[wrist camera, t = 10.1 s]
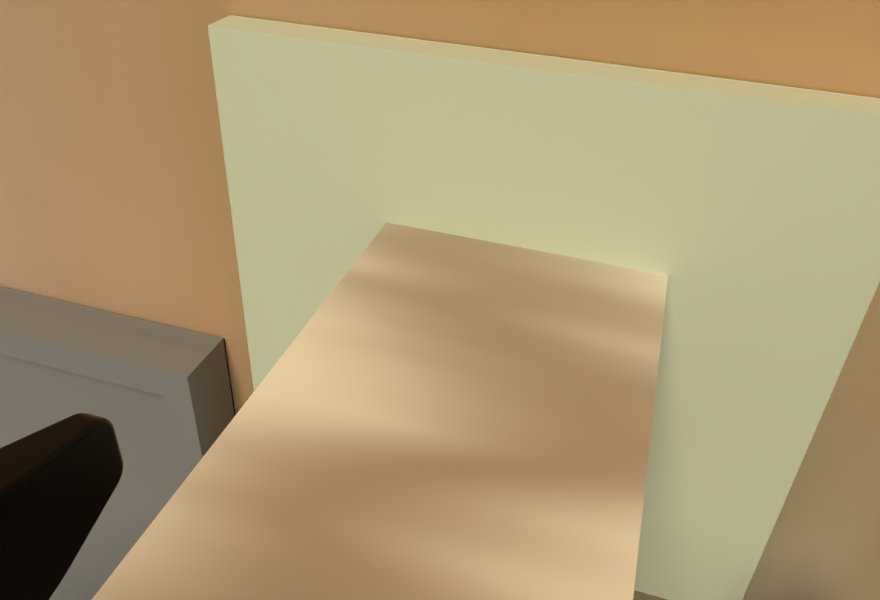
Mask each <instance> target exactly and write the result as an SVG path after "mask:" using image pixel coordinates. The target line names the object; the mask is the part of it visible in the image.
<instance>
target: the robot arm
mask: <svg viewBox="0 0 880 600" xmlns="http://www.w3.org/2000/svg"><path fill="white" fill-rule="evenodd" d="M122 472H123V459H122V455H121V452H120V448H119V444H118V441H117V437H116V433H115V429H114V426H113V424H112V423H111V422H110V421H109V420H108V419H106V418H103V417H99V416H95V415H92V414H88V413H78V414H74V415H72V416H69V417H67V418H65V419H63V420H61V421H58V422H56V423H54V424H52V425H50V426H47V427H45V428H43V429H41V430H39V431H36V432H34V433H32V434H30V435H28V436H25V437H23V438H21V439H19V440H17V441H14V442H12V443H10V444H8V445H6V446H3V447H1V448H0V600H49V599H50V597H51V596H52V594H53V593H54V592H55V590H56V589H57V587H58V586H59V584H60V583H61V581H62V579H63V578H64V576H65V574H66V573H67V571H68V570H69V568H70V566H71V565H72V563H73V561H74V559H75V558H76V556H77V554H78V552H79V551H80V549H81V547H82V545H83V544H84V542H85V540H86V539H87V537H88V535H89V533H90V532H91V530H92V528H93V526H94V525H95V523H96V521H97V519H98V518H99V516H100V514H101V512H102V511H103V509H104V507H105V506H106V504H107V502H108V500H109V499H110V497H111V495H112V493H113V492H114V490H115V488H116V486H117V485H118V483H119V481H120V478H121V476H122Z"/></svg>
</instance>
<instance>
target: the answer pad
mask: <svg viewBox="0 0 880 600" xmlns="http://www.w3.org/2000/svg"><path fill="white" fill-rule="evenodd" d="M208 32H209V40H210V48H211V55H212V63H213V71H214V79H215V87H216V95H217V103H218V111H219V119H220V127H221V135H222V143H223V151H224V159H225V166H226V174H227V182H228V190H229V198H230V206H231V214H232V222H233V230H234V238H235V246H236V254H237V262H238V270H239V277H240V285H241V293H242V301H243V309H244V317H245V325H246V333H247V341H248V349H249V357H250V365H251V373H252V381H253V388H254V391H255V390H256V388H257V387H258V386H259V385H260V383H261V382H262V381H263V380H264V378H265V377H266V376H267V374H268V373H269V372H270V371H271V369H272V368H273V367H274V365H275V364H276V363H277V362H278V360H279V359H280V358H281V356H282V355H283V354H284V353H285V351H286V350H287V349H288V348H289V346H290V345H291V344H292V342H293V341H294V340H295V339H296V337H297V336H298V335H299V333H300V332H301V331H302V330H303V328H304V327H305V326H306V324H307V323H308V322H309V321H310V319H311V318H312V317H313V316H314V314H315V313H316V312H317V310H318V309H319V308H320V307H321V305H322V304H323V303H324V301H325V300H326V299H327V298H328V296H329V295H330V294H331V292H332V291H333V290H334V289H335V287H336V286H337V285H338V283H339V282H340V281H341V280H342V278H343V277H344V276H345V275H346V273H347V272H348V271H349V269H350V268H351V267H352V266H353V264H354V263H355V262H356V260H357V259H358V258H359V257H360V255H361V254H362V253H363V251H364V250H365V249H366V248H367V246H368V245H369V244H370V243H371V241H372V240H373V239H374V237H375V236H376V235H377V234H378V232H379V231H380V230H381V228H382V227H383V226H384V225H385V223H386V222H388V223H393V224H398V225H404V226H409V227H414V228H420V229H425V230H430V231H436V232H441V233H446V234H452V235H457V236H463V237H468V238H473V239H479V240H484V241H489V242H495V243H500V244H505V245H511V246H516V247H521V248H527V249H532V250H538V251H543V252H548V253H554V254H559V255H564V256H570V257H575V258H580V259H586V260H591V261H597V262H602V263H607V264H613V265H618V266H623V267H629V268H634V269H639V270H645V271H650V272H655V273H661V274H666V275H668V283H667V292H666V301H665V310H664V320H663V329H662V338H661V347H660V356H659V365H658V375H657V384H656V393H655V402H654V411H653V420H652V430H651V439H650V448H649V457H648V466H647V475H646V485H645V494H644V503H643V512H642V521H641V530H640V540H639V549H638V558H637V567H636V576H635V586H634V590H635V591H639V592H642V593H646V594H649V595H653V596H657V597H660V598H664V599H667V600H742V599H743V597H744V595H745V592H746V590H747V588H748V585H749V583H750V581H751V578H752V576H753V574H754V572H755V569H756V567H757V565H758V562H759V560H760V558H761V555H762V553H763V551H764V548H765V546H766V544H767V541H768V539H769V537H770V534H771V532H772V530H773V528H774V525H775V523H776V521H777V518H778V516H779V514H780V511H781V509H782V507H783V504H784V502H785V500H786V497H787V495H788V493H789V490H790V488H791V486H792V484H793V481H794V479H795V477H796V474H797V472H798V470H799V467H800V465H801V463H802V460H803V458H804V456H805V453H806V451H807V449H808V446H809V444H810V442H811V439H812V437H813V435H814V433H815V430H816V428H817V426H818V423H819V421H820V419H821V416H822V414H823V412H824V409H825V407H826V405H827V402H828V400H829V398H830V395H831V393H832V391H833V389H834V386H835V384H836V382H837V379H838V377H839V375H840V372H841V370H842V368H843V365H844V363H845V361H846V358H847V356H848V354H849V351H850V349H851V347H852V345H853V342H854V340H855V338H856V335H857V333H858V331H859V328H860V326H861V324H862V321H863V319H864V317H865V314H866V312H867V310H868V307H869V305H870V303H871V300H872V298H873V296H874V294H875V291H876V289H877V287H878V284H879V282H880V98H873V97H866V96H858V95H850V94H842V93H834V92H826V91H819V90H811V89H803V88H795V87H787V86H780V85H772V84H764V83H756V82H748V81H740V80H733V79H725V78H717V77H709V76H701V75H694V74H686V73H678V72H670V71H662V70H654V69H647V68H639V67H631V66H623V65H615V64H608V63H600V62H592V61H584V60H576V59H569V58H561V57H553V56H545V55H537V54H529V53H522V52H514V51H506V50H498V49H490V48H483V47H475V46H467V45H459V44H451V43H443V42H436V41H428V40H420V39H412V38H404V37H397V36H389V35H381V34H373V33H365V32H358V31H350V30H342V29H334V28H326V27H318V26H311V25H303V24H295V23H287V22H279V21H272V20H264V19H256V18H248V17H240V16H232V15H230V16H228V17H226V18H223V19H221V20H219V21H217V22H215V23H212V24H210V25H208Z"/></svg>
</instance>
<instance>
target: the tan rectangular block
mask: <svg viewBox="0 0 880 600" xmlns="http://www.w3.org/2000/svg"><path fill="white" fill-rule="evenodd" d="M667 283H668V275H666V274H661V273H655V272H650V271H645V270H639V269H634V268H629V267H623V266H618V265H613V264H607V263H602V262H597V261H591V260H586V259H580V258H575V257H570V256H564V255H559V254H554V253H548V252H543V251H538V250H532V249H527V248H521V247H516V246H511V245H505V244H500V243H495V242H489V241H484V240H479V239H473V238H468V237H463V236H457V235H452V234H446V233H441V232H436V231H430V230H425V229H420V228H414V227H409V226H404V225H398V224H393V223H388V222H386V223H385V225H384V226H383V227H382V228H381V230H380V231H379V232H378V234H377V235H376V236H375V237H374V239H373V240H372V241H371V243H370V244H369V245H368V246H367V248H366V249H365V250H364V251H363V253H362V254H361V255H360V257H359V258H358V259H357V260H356V262H355V263H354V264H353V266H352V267H351V268H350V269H349V271H348V272H347V273H346V275H345V276H344V277H343V278H342V280H341V281H340V282H339V283H338V285H337V286H336V287H335V289H334V290H333V291H332V292H331V294H330V295H329V296H328V298H327V299H326V300H325V301H324V303H323V304H322V305H321V307H320V308H319V309H318V310H317V312H316V313H315V314H314V316H313V317H312V318H311V319H310V321H309V322H308V323H307V324H306V326H305V327H304V328H303V330H302V331H301V332H300V333H299V335H298V336H297V337H296V339H295V340H294V341H293V342H292V344H291V345H290V346H289V348H288V349H287V350H286V351H285V353H284V354H283V355H282V356H281V358H280V359H279V360H278V362H277V363H276V364H275V365H274V367H273V368H272V369H271V371H270V372H269V373H268V374H267V376H266V377H265V378H264V380H263V381H262V382H261V383H260V385H259V386H258V387H257V388H256V390H255V391H254V392H253V394H252V395H251V396H250V397H249V399H248V400H247V401H246V403H245V404H244V405H243V406H242V408H241V409H240V410H239V412H238V413H237V414H236V415H235V417H234V418H233V419H232V420H231V422H230V423H229V424H228V426H227V427H226V428H225V429H224V431H223V432H222V433H221V435H220V436H219V437H218V438H217V440H216V441H215V442H214V444H213V445H212V446H211V447H210V449H209V450H208V451H207V453H206V454H205V455H204V456H203V458H202V459H201V460H200V461H199V463H198V464H197V465H196V467H195V468H194V469H193V470H192V472H191V473H190V474H189V476H188V477H187V478H186V479H185V481H184V482H183V483H182V485H181V486H180V487H179V488H178V490H177V491H176V492H175V493H174V495H173V496H172V497H171V499H170V500H169V501H168V502H167V504H166V505H165V506H164V508H163V509H162V510H161V511H160V513H159V514H158V515H157V517H156V518H155V519H154V520H153V522H152V523H151V524H150V525H149V527H148V528H147V529H146V531H145V532H144V533H143V534H142V536H141V537H140V538H139V540H138V541H137V542H136V543H135V545H134V546H133V547H132V549H131V550H130V551H129V552H128V554H127V555H126V556H125V557H124V559H123V560H122V561H121V563H120V564H119V565H118V566H117V568H116V569H115V570H114V572H113V573H112V574H111V575H110V577H109V578H108V579H107V581H106V582H105V583H104V584H103V586H102V587H101V588H100V590H99V591H98V592H97V593H96V595H95V596H94V597H93V598H92V600H633V595H634V586H635V576H636V567H637V558H638V549H639V540H640V530H641V521H642V512H643V503H644V494H645V485H646V475H647V466H648V457H649V448H650V439H651V430H652V420H653V411H654V402H655V393H656V384H657V375H658V365H659V356H660V347H661V338H662V329H663V320H664V310H665V301H666V292H667Z"/></svg>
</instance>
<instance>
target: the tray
mask: <svg viewBox="0 0 880 600" xmlns="http://www.w3.org/2000/svg"><path fill="white" fill-rule="evenodd" d="M78 413H88V414H92V415H95V416H99V417H103V418H106V419H108V420H109V421H110V422H111V423H112V424H113V426H114V429H115V433H116V437H117V441H118V444H119V448H120V452H121V455H122V459H123V472H122V476H121V478H120V481H119V483H118V485H117V486H116V488H115V490H114V492H113V493H112V495H111V497H110V499H109V500H108V502H107V504H106V506H105V507H104V509H103V511H102V512H101V514H100V516H99V518H98V519H97V521H96V523H95V525H94V526H93V528H92V530H91V532H90V533H89V535H88V537H87V539H86V540H85V542H84V544H83V545H82V547H81V549H80V551H79V552H78V554H77V556H76V558H75V559H74V561H73V563H72V565H71V566H70V568H69V570H68V571H67V573H66V574H65V576H64V578H63V579H62V581H61V583H60V584H59V586H58V587H57V589H56V590H55V592H54V593H53V594H52V596H51V597H50V599H49V600H92V598H93V597H94V596H95V595H96V593H97V592H98V591H99V590H100V588H101V587H102V586H103V584H104V583H105V582H106V581H107V579H108V578H109V577H110V575H111V574H112V573H113V572H114V570H115V569H116V568H117V566H118V565H119V564H120V563H121V561H122V560H123V559H124V557H125V556H126V555H127V554H128V552H129V551H130V550H131V549H132V547H133V546H134V545H135V543H136V542H137V541H138V540H139V538H140V537H141V536H142V534H143V533H144V532H145V531H146V529H147V528H148V527H149V525H150V524H151V523H152V522H153V520H154V519H155V518H156V517H157V515H158V514H159V513H160V511H161V510H162V509H163V508H164V506H165V505H166V504H167V502H168V501H169V500H170V499H171V497H172V496H173V495H174V493H175V492H176V491H177V490H178V488H179V487H180V486H181V485H182V483H183V482H184V481H185V479H186V478H187V477H188V476H189V474H190V473H191V472H192V470H193V469H194V468H195V467H196V465H197V464H198V463H199V461H200V460H201V459H202V458H203V456H204V455H205V454H206V453H207V451H208V450H209V449H210V447H211V446H212V445H213V444H214V442H215V441H216V440H217V438H218V437H219V436H220V435H221V433H222V432H223V431H224V429H225V428H226V427H227V426H228V424H229V423H230V422H231V420H232V419H233V418H234V417H235V415H234V408H233V402H232V395H231V388H230V381H229V375H228V368H227V361H226V354H225V348H224V341H223V338H220V337H216V336H212V335H208V334H203V333H199V332H195V331H190V330H186V329H182V328H177V327H173V326H169V325H165V324H160V323H156V322H152V321H147V320H143V319H139V318H134V317H130V316H126V315H121V314H117V313H113V312H109V311H104V310H100V309H96V308H91V307H87V306H83V305H78V304H74V303H70V302H66V301H61V300H57V299H53V298H48V297H44V296H40V295H35V294H31V293H27V292H22V291H18V290H14V289H10V288H5V287H1V286H0V448H1V447H3V446H6V445H8V444H10V443H12V442H14V441H17V440H19V439H21V438H23V437H25V436H28V435H30V434H32V433H34V432H36V431H39V430H41V429H43V428H45V427H47V426H50V425H52V424H54V423H56V422H58V421H61V420H63V419H65V418H67V417H69V416H72V415H74V414H78Z"/></svg>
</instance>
